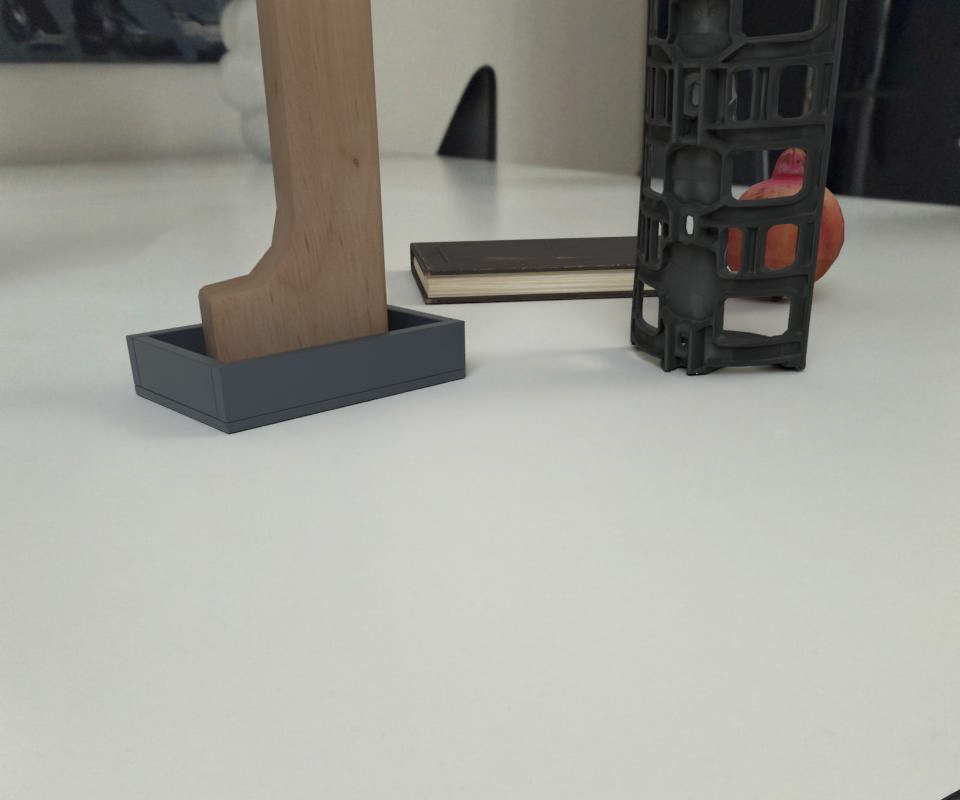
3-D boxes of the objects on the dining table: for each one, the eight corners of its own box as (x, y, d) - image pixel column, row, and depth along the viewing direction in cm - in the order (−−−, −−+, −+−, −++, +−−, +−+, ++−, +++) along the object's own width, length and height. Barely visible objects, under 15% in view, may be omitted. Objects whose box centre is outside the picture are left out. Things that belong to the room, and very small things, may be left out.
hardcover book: (729, 293, 75) (732, 260, 74) (425, 304, 73) (423, 270, 72) (668, 261, 89) (670, 234, 88) (410, 269, 87) (409, 241, 86)
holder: (827, 351, 57) (878, -75, 46) (790, 395, 52) (836, -73, 41) (647, 334, 63) (654, -53, 52) (596, 373, 57) (591, -49, 46)
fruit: (705, 291, 76) (719, 145, 72) (809, 289, 77) (829, 143, 72) (736, 312, 69) (753, 151, 64) (850, 309, 70) (876, 149, 65)
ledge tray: (135, 393, 52) (125, 335, 51) (361, 348, 61) (358, 297, 59) (228, 434, 46) (219, 368, 45) (466, 377, 55) (465, 320, 53)
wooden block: (220, 394, 50) (161, -38, 42) (208, 373, 54) (151, -27, 45) (393, 376, 53) (371, -32, 44) (370, 357, 57) (345, -23, 48)
